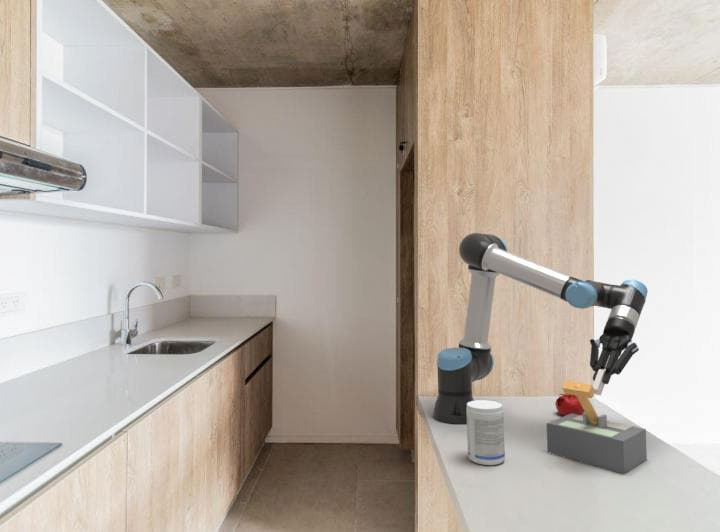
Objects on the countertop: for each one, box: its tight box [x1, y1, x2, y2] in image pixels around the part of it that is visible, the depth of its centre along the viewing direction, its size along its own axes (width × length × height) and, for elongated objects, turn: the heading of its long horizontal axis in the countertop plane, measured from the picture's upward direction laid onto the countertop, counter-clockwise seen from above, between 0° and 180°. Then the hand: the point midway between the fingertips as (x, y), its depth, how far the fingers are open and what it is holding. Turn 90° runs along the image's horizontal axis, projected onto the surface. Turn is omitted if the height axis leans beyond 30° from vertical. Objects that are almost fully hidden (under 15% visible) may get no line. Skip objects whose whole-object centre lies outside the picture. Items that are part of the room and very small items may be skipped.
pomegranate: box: [554, 391, 585, 417], centre depth 167 cm, size 10×10×9 cm
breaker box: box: [546, 413, 648, 475], centre depth 129 cm, size 20×14×11 cm
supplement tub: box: [466, 399, 506, 466], centre depth 127 cm, size 10×10×15 cm
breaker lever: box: [561, 380, 599, 425], centre depth 126 cm, size 7×2×16 cm
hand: (596, 391), depth 128 cm, fingers closed
